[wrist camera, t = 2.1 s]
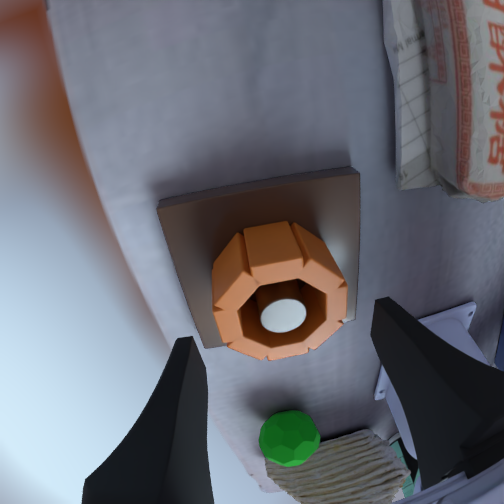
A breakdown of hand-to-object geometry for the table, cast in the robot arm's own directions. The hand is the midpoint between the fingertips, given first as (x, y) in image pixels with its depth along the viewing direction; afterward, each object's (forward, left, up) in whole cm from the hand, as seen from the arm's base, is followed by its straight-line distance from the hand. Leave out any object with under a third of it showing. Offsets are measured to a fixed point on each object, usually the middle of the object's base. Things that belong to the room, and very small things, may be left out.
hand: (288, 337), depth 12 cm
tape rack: (0, 0, -5) cm, 5 cm away
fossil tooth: (-26, -4, -5) cm, 26 cm away
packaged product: (+12, -12, -5) cm, 18 cm away
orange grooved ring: (0, 0, -4) cm, 4 cm away
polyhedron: (-16, 0, -5) cm, 17 cm away
